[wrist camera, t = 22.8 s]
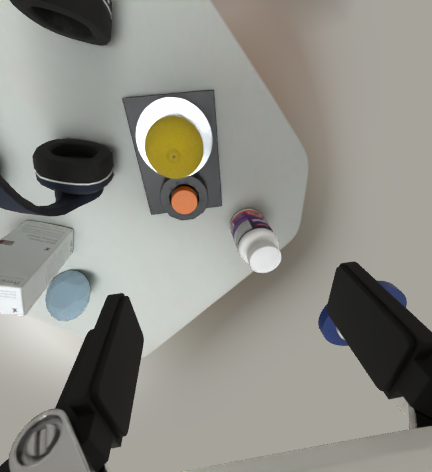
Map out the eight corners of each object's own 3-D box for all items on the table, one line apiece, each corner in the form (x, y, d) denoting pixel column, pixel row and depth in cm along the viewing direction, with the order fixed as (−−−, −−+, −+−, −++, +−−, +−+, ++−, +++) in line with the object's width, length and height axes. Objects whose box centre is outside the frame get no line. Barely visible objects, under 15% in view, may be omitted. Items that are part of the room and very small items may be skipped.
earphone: (34, -50, 19) (-556, -650, 4) (120, -21, 21) (-59, -374, 5) (62, 178, 29) (-77, 269, 13) (119, 187, 31) (54, 278, 15)
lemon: (178, 176, 27) (176, 202, 20) (139, 141, 25) (123, 156, 18) (211, 141, 26) (221, 156, 19) (173, 100, 23) (169, 100, 16)
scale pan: (208, 93, 24) (209, 93, 23) (215, 173, 28) (215, 174, 28) (126, 100, 23) (125, 100, 23) (146, 181, 28) (145, 182, 27)
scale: (212, 90, 26) (216, 89, 24) (221, 206, 34) (224, 215, 31) (124, 98, 26) (117, 97, 23) (153, 214, 33) (150, 224, 31)
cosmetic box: (74, 227, 33) (23, 286, 22) (74, 252, 35) (27, 317, 24) (24, 218, 31) (-56, 277, 21) (27, 245, 33) (-44, 311, 23)
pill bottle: (270, 220, 36) (296, 255, 28) (247, 243, 38) (265, 284, 30) (245, 200, 34) (266, 233, 26) (222, 226, 36) (234, 265, 27)
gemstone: (107, 314, 38) (85, 318, 33) (65, 320, 38) (38, 325, 34) (105, 268, 39) (85, 265, 35) (65, 275, 40) (40, 273, 36)
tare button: (195, 184, 29) (195, 188, 27) (198, 207, 31) (198, 212, 29) (169, 187, 29) (169, 191, 27) (174, 210, 30) (173, 216, 29)
